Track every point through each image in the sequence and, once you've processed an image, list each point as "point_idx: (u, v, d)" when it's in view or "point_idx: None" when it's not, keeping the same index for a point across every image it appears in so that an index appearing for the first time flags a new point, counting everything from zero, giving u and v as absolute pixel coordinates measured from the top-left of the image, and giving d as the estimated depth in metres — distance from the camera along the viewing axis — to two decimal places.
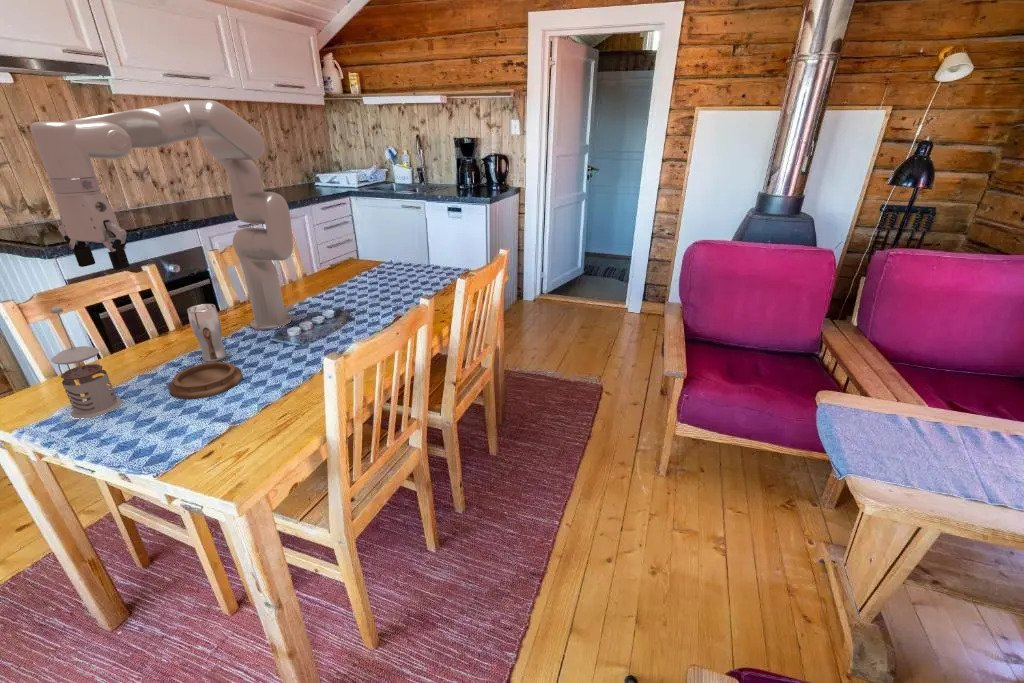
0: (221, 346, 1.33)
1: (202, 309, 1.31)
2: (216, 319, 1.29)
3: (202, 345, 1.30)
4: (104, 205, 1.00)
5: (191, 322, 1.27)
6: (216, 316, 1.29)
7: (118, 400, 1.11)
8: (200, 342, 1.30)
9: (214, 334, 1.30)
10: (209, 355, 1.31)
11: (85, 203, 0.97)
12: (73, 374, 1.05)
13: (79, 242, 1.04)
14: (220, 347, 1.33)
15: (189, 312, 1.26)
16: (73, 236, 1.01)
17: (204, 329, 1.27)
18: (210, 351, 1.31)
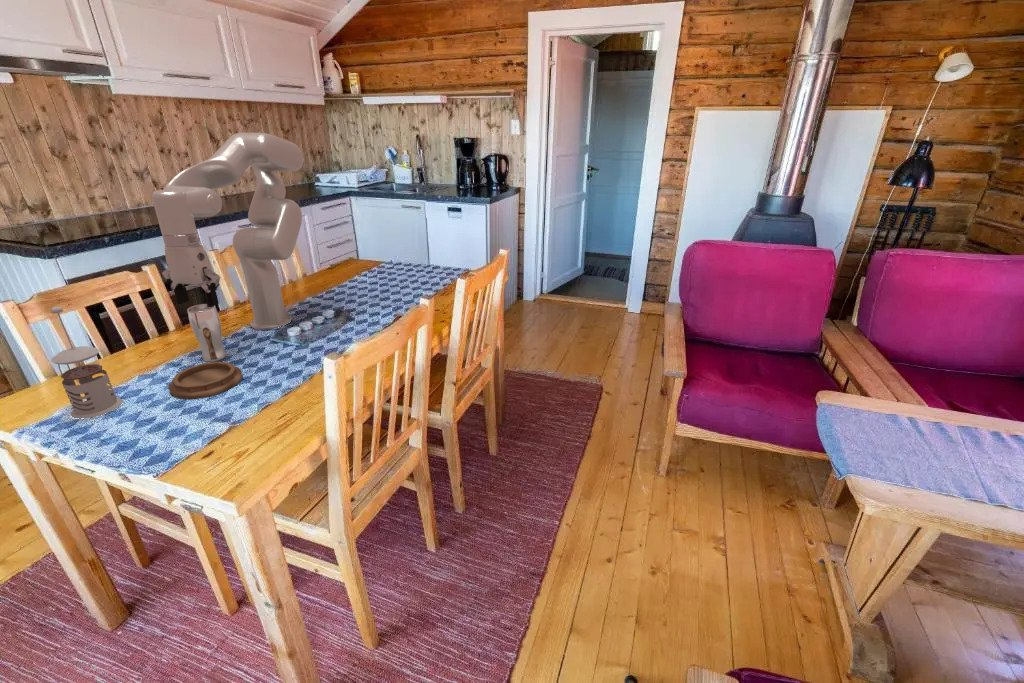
0: (221, 346, 1.33)
1: (202, 309, 1.31)
2: (216, 319, 1.29)
3: (202, 345, 1.30)
4: (203, 255, 1.22)
5: (191, 322, 1.27)
6: (216, 316, 1.29)
7: (118, 400, 1.11)
8: (200, 342, 1.30)
9: (214, 334, 1.30)
10: (209, 355, 1.31)
11: (190, 254, 1.19)
12: (73, 374, 1.05)
13: (178, 284, 1.27)
14: (220, 347, 1.33)
15: (189, 312, 1.26)
16: (176, 280, 1.23)
17: (204, 329, 1.27)
18: (210, 351, 1.31)
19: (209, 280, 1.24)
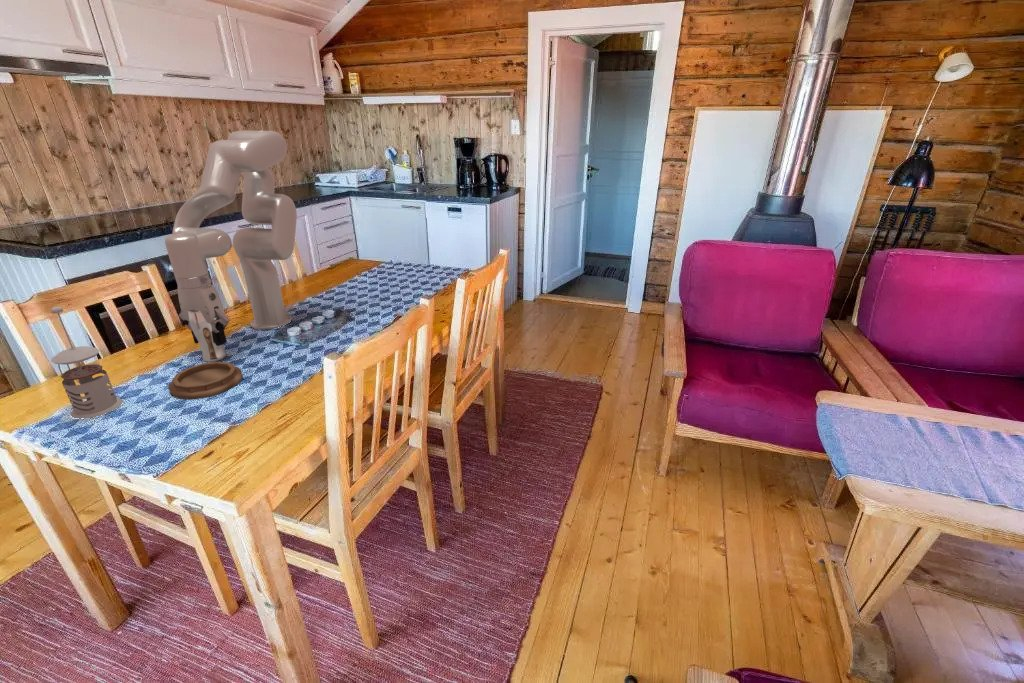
0: (221, 346, 1.33)
1: None
2: (216, 319, 1.29)
3: (202, 345, 1.30)
4: (214, 295, 1.27)
5: (191, 322, 1.27)
6: (216, 316, 1.29)
7: (118, 400, 1.11)
8: (200, 342, 1.29)
9: None
10: (209, 355, 1.31)
11: (202, 295, 1.24)
12: (73, 374, 1.05)
13: None
14: (220, 347, 1.33)
15: (189, 312, 1.26)
16: (188, 318, 1.28)
17: (204, 329, 1.27)
18: (210, 351, 1.31)
19: None
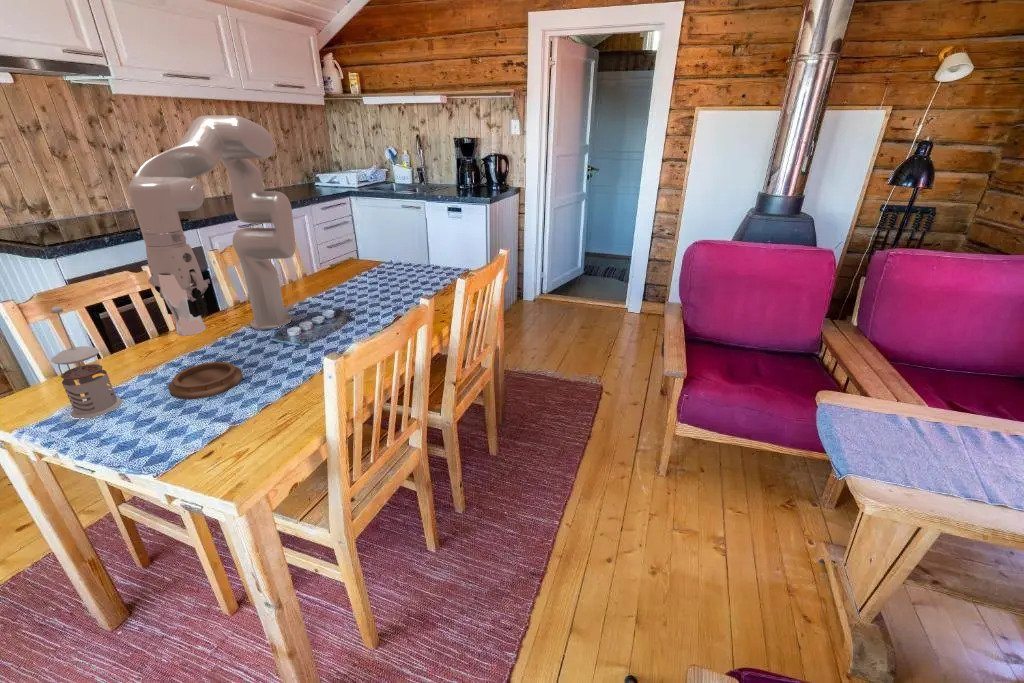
0: (199, 318, 1.13)
1: None
2: (192, 285, 1.10)
3: (176, 316, 1.10)
4: (190, 255, 1.07)
5: (162, 288, 1.07)
6: (192, 281, 1.10)
7: (118, 400, 1.11)
8: (173, 312, 1.10)
9: None
10: (184, 328, 1.12)
11: (174, 255, 1.04)
12: (73, 374, 1.05)
13: None
14: (197, 319, 1.13)
15: (159, 276, 1.06)
16: None
17: (178, 296, 1.08)
18: (185, 323, 1.11)
19: None
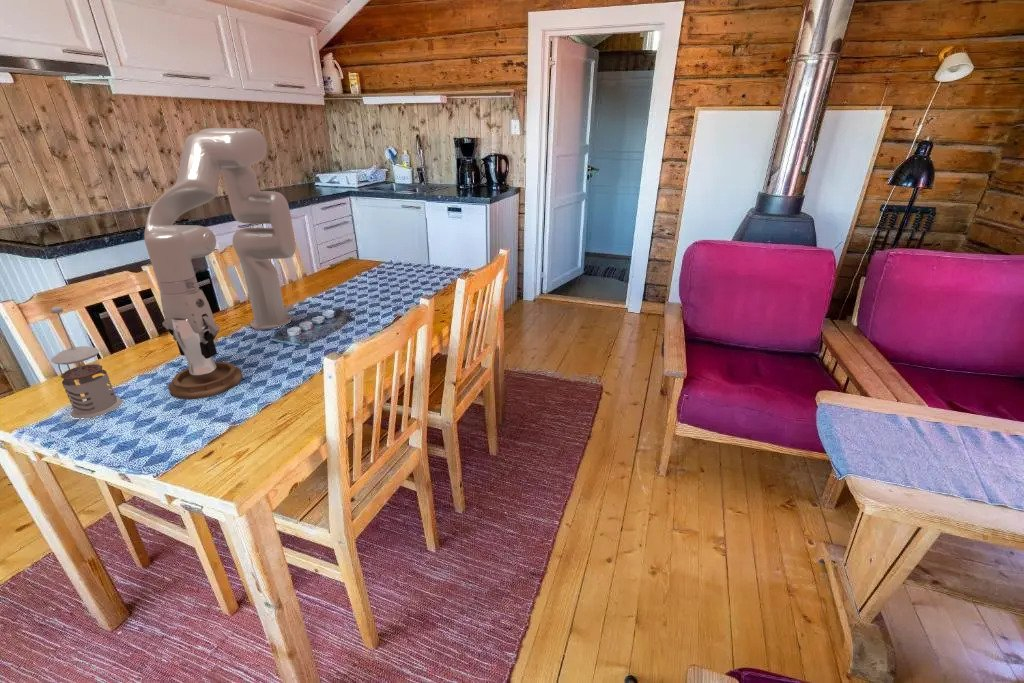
0: (210, 358, 1.18)
1: None
2: (204, 328, 1.14)
3: (188, 357, 1.15)
4: (202, 301, 1.12)
5: (176, 332, 1.12)
6: (204, 325, 1.14)
7: (118, 400, 1.11)
8: (186, 354, 1.14)
9: None
10: (196, 369, 1.16)
11: (188, 301, 1.09)
12: (73, 374, 1.05)
13: None
14: (209, 360, 1.17)
15: (173, 320, 1.11)
16: None
17: (190, 340, 1.12)
18: (197, 364, 1.16)
19: None
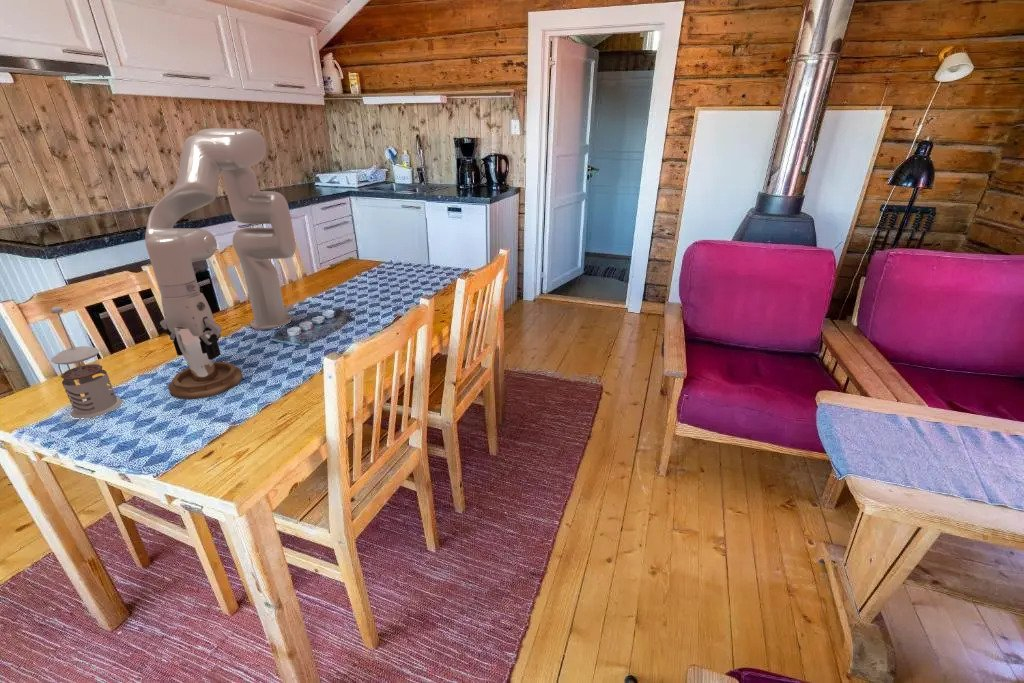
0: (212, 366, 1.19)
1: None
2: (207, 336, 1.15)
3: (191, 365, 1.16)
4: (203, 304, 1.12)
5: (178, 340, 1.13)
6: None
7: (118, 400, 1.11)
8: (189, 362, 1.16)
9: (205, 354, 1.16)
10: (199, 376, 1.17)
11: (189, 305, 1.09)
12: (73, 374, 1.05)
13: None
14: (211, 367, 1.19)
15: (176, 329, 1.12)
16: (174, 330, 1.13)
17: (193, 348, 1.14)
18: (200, 372, 1.17)
19: (210, 330, 1.15)
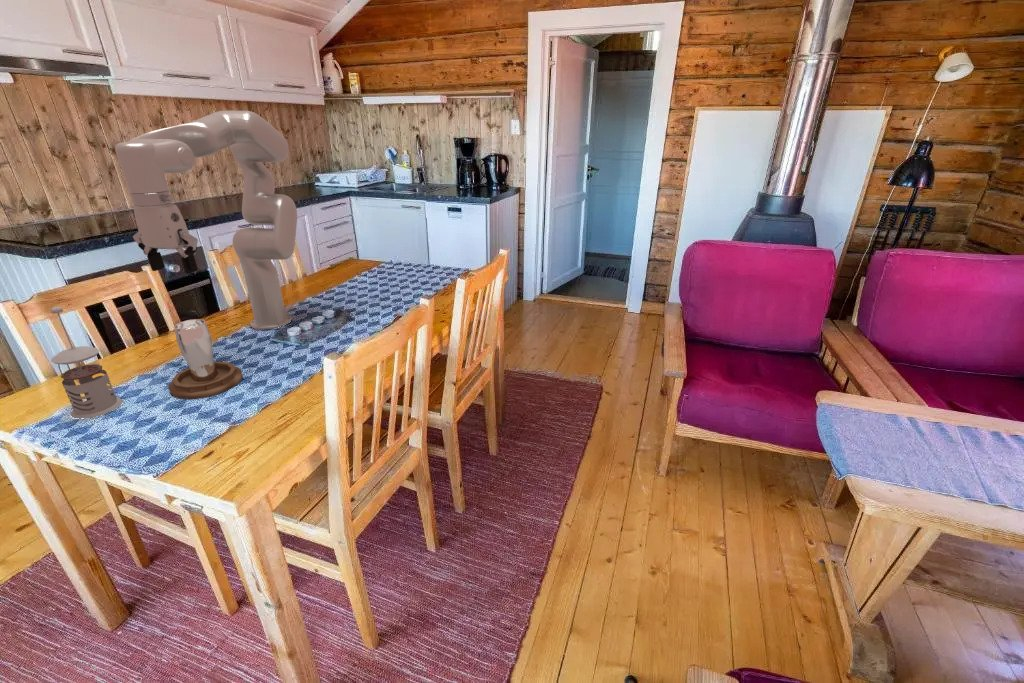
0: (212, 366, 1.19)
1: (191, 325, 1.17)
2: (206, 336, 1.15)
3: (191, 365, 1.16)
4: (177, 216, 1.11)
5: (178, 340, 1.13)
6: (206, 333, 1.16)
7: (118, 400, 1.11)
8: (189, 362, 1.16)
9: (205, 354, 1.16)
10: (199, 376, 1.17)
11: (162, 214, 1.08)
12: (73, 374, 1.05)
13: (151, 248, 1.16)
14: (211, 367, 1.19)
15: (176, 329, 1.12)
16: (149, 244, 1.12)
17: (193, 348, 1.13)
18: (200, 372, 1.17)
19: (186, 244, 1.14)
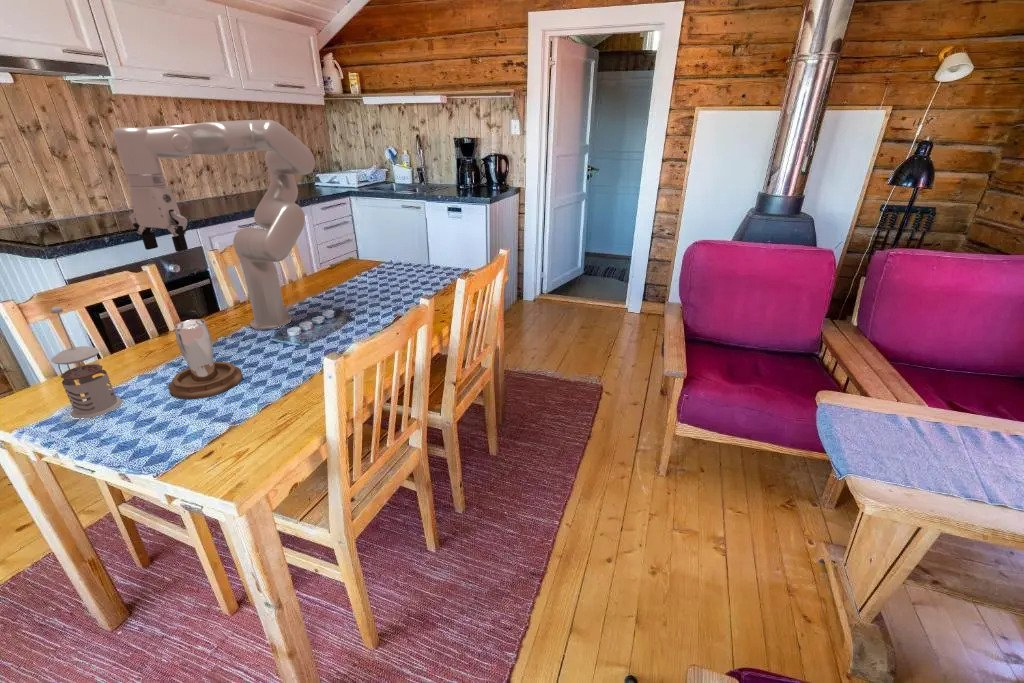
0: (212, 366, 1.19)
1: (191, 325, 1.17)
2: (206, 336, 1.15)
3: (191, 365, 1.16)
4: (169, 197, 1.19)
5: (178, 340, 1.13)
6: (206, 333, 1.16)
7: (118, 400, 1.11)
8: (189, 362, 1.16)
9: (205, 354, 1.16)
10: (199, 376, 1.17)
11: (155, 195, 1.16)
12: (73, 374, 1.05)
13: (146, 228, 1.24)
14: (211, 367, 1.19)
15: (176, 329, 1.12)
16: (142, 223, 1.20)
17: (193, 348, 1.13)
18: (200, 372, 1.17)
19: (177, 224, 1.21)
